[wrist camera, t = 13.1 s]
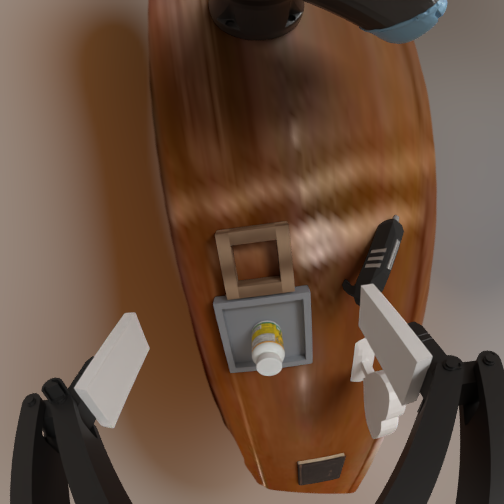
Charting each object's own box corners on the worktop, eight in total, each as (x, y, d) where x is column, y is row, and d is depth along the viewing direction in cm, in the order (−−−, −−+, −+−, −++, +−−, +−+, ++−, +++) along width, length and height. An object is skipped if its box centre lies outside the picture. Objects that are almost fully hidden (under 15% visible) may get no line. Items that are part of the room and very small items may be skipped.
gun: (375, 227, 48) (411, 219, 39) (342, 305, 45) (379, 311, 35) (365, 219, 48) (401, 209, 38) (331, 298, 45) (367, 303, 35)
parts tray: (214, 296, 46) (213, 304, 44) (307, 285, 46) (310, 291, 43) (231, 364, 52) (230, 372, 49) (310, 355, 51) (312, 363, 49)
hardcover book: (344, 451, 67) (345, 456, 65) (338, 473, 75) (339, 478, 73) (297, 460, 68) (297, 465, 66) (298, 481, 76) (298, 485, 73)
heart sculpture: (369, 381, 54) (393, 439, 37) (349, 386, 55) (370, 446, 38) (378, 331, 49) (415, 391, 32) (356, 335, 50) (388, 400, 33)
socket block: (216, 230, 43) (214, 234, 40) (286, 221, 42) (288, 224, 40) (228, 292, 46) (227, 299, 44) (292, 284, 46) (294, 291, 43)
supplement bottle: (251, 319, 47) (251, 354, 38) (281, 318, 47) (287, 353, 38) (252, 343, 49) (252, 379, 40) (280, 342, 49) (286, 378, 40)
